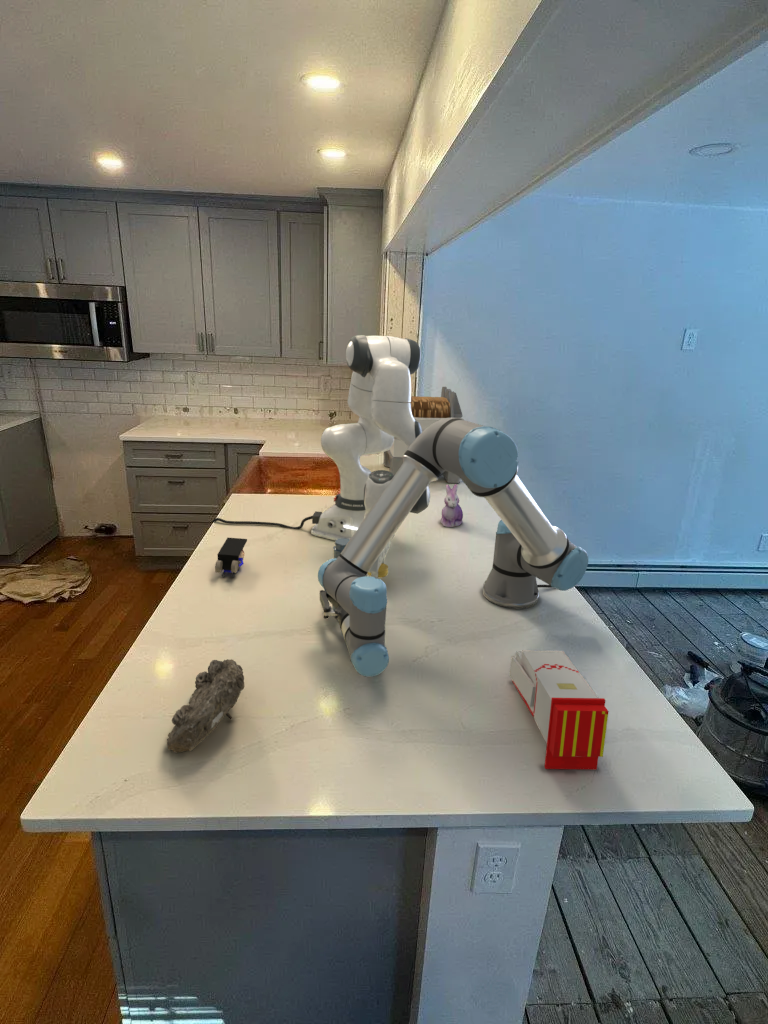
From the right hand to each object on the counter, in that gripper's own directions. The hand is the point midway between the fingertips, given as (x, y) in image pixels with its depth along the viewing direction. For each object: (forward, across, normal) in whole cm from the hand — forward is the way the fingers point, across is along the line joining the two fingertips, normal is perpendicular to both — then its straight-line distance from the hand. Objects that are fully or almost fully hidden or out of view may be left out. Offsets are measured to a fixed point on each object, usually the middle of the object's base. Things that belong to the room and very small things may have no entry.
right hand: (339, 579), depth 150 cm
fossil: (-40, -32, -6) cm, 52 cm away
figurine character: (+24, -28, -6) cm, 37 cm away
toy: (-53, +32, -6) cm, 63 cm away
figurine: (+51, +52, -6) cm, 73 cm away
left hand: (+10, +13, -4) cm, 17 cm away
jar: (-5, 0, -6) cm, 8 cm away
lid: (+10, +13, -2) cm, 16 cm away
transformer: (+118, +61, -6) cm, 133 cm away
